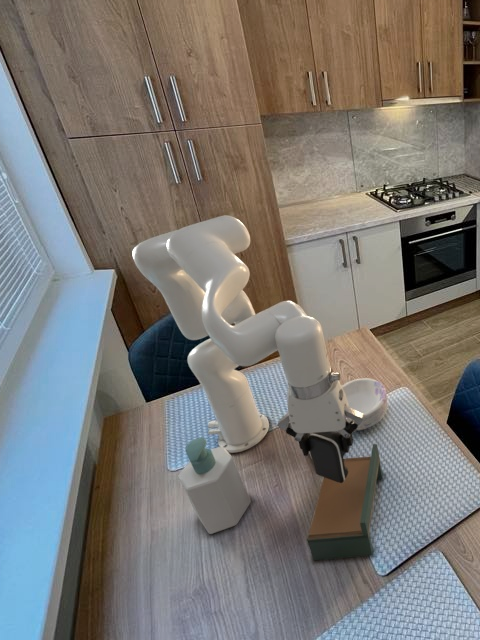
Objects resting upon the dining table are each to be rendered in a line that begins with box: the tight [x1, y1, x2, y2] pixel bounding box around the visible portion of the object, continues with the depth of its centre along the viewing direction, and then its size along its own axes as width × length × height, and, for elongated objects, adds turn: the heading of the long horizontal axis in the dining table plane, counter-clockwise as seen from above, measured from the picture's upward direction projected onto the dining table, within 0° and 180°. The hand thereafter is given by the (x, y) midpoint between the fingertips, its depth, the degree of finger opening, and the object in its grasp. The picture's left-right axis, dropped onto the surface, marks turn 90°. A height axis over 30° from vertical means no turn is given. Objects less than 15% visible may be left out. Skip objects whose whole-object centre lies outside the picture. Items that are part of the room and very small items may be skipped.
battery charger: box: [307, 431, 348, 483], centre depth 82 cm, size 7×4×11 cm, turn 70°
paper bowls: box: [341, 377, 389, 432], centre depth 114 cm, size 15×15×8 cm
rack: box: [306, 443, 384, 561], centre depth 89 cm, size 12×18×11 cm, turn 4°
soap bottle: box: [177, 437, 251, 535], centre depth 88 cm, size 10×9×22 cm
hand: (328, 447), depth 81 cm, fingers closed on battery charger, 7 cm apart
